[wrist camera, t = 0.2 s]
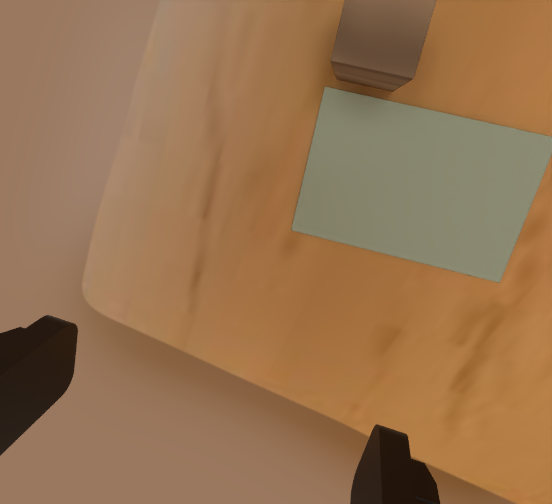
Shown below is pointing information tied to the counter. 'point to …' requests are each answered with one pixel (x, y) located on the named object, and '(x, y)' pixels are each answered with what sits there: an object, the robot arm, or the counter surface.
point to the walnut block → (381, 41)
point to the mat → (419, 183)
